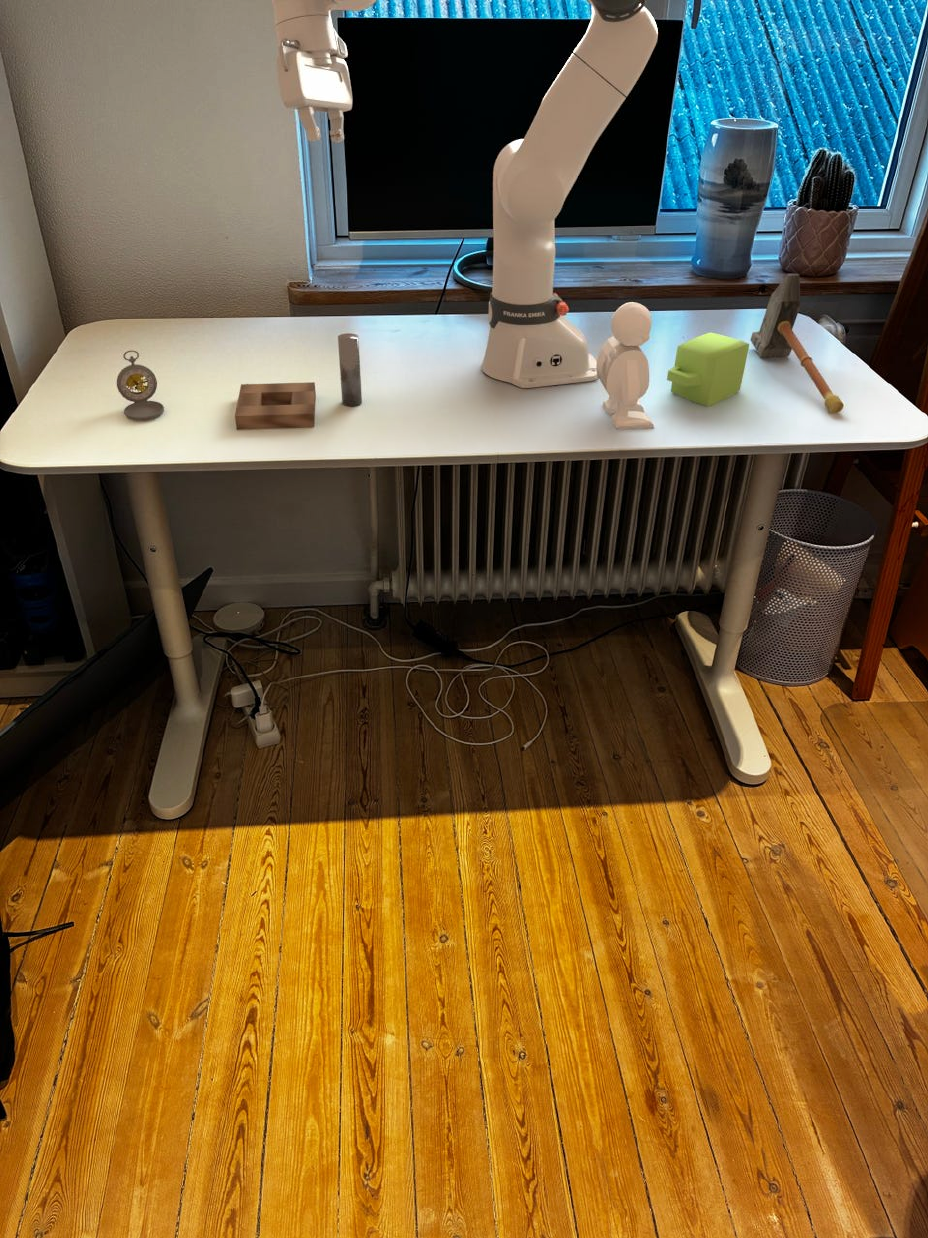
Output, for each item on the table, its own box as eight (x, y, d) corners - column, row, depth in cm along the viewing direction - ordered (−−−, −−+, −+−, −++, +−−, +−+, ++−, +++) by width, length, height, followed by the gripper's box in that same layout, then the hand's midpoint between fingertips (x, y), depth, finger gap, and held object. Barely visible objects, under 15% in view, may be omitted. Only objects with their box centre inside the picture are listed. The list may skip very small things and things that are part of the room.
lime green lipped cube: (708, 369, 185) (717, 321, 179) (753, 384, 179) (763, 335, 173) (652, 395, 175) (660, 345, 169) (698, 412, 169) (707, 361, 163)
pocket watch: (144, 425, 161) (132, 369, 155) (109, 413, 165) (97, 358, 159) (179, 408, 167) (169, 353, 161) (145, 397, 170) (134, 343, 164)
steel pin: (361, 398, 172) (358, 332, 164) (362, 406, 169) (358, 340, 162) (342, 398, 171) (337, 333, 164) (342, 406, 168) (337, 341, 161)
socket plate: (315, 395, 172) (314, 382, 171) (314, 427, 162) (313, 413, 160) (242, 397, 171) (241, 384, 169) (236, 429, 161) (234, 415, 159)
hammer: (838, 363, 161) (773, 267, 181) (807, 440, 174) (749, 342, 193) (872, 362, 162) (803, 266, 182) (838, 438, 174) (777, 341, 194)
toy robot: (657, 432, 162) (674, 316, 150) (606, 434, 161) (619, 318, 149) (635, 398, 173) (650, 288, 161) (587, 400, 172) (598, 289, 160)
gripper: (296, 31, 139) (317, 135, 145) (350, 45, 157) (367, 138, 162) (258, 41, 141) (280, 143, 147) (316, 54, 159) (334, 145, 164)
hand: (326, 141), depth 155 cm, fingers open, 8 cm apart
